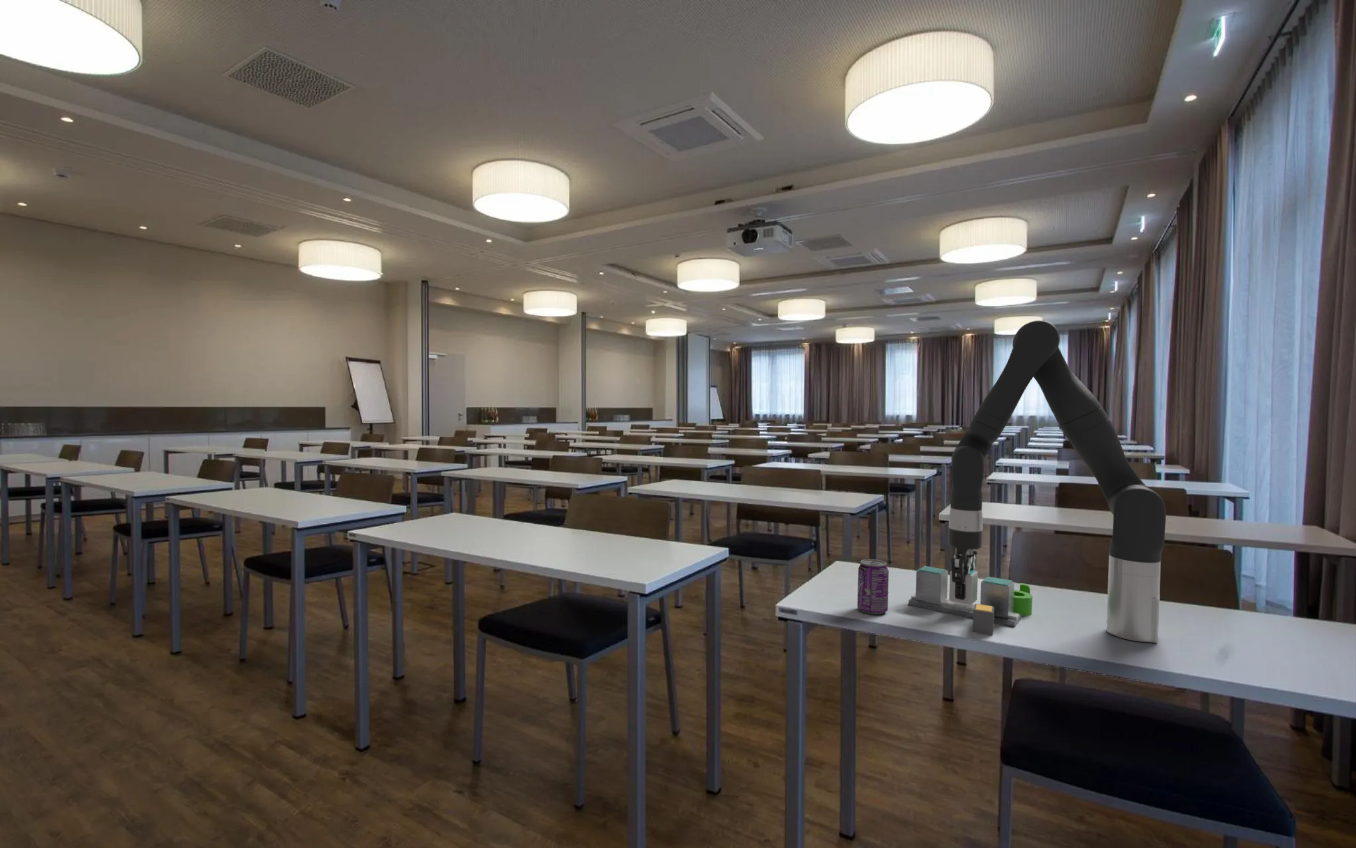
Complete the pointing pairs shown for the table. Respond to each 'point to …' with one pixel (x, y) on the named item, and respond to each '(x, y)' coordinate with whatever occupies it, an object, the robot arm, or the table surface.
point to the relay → (983, 619)
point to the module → (970, 588)
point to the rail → (935, 598)
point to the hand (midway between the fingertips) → (963, 595)
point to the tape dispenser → (1023, 600)
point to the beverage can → (873, 586)
